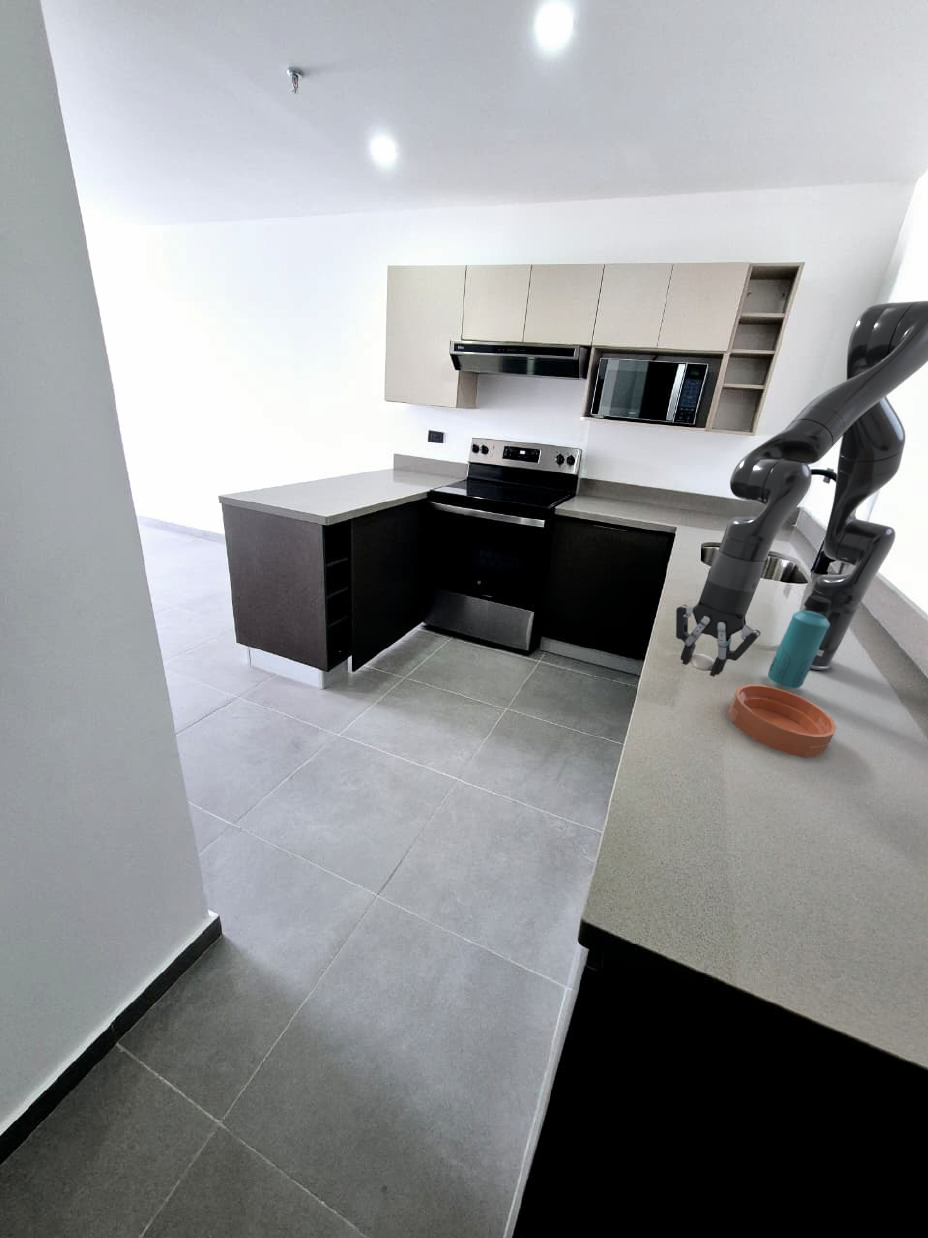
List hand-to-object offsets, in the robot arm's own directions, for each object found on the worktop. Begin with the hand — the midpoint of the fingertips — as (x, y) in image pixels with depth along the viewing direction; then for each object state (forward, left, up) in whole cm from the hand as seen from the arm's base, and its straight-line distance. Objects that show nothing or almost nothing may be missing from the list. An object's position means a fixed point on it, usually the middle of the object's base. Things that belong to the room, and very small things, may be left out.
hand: (699, 668), depth 88 cm
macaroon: (0, 0, 0) cm, 0 cm away
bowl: (-5, +14, -7) cm, 16 cm away
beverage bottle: (-24, +11, -7) cm, 27 cm away
